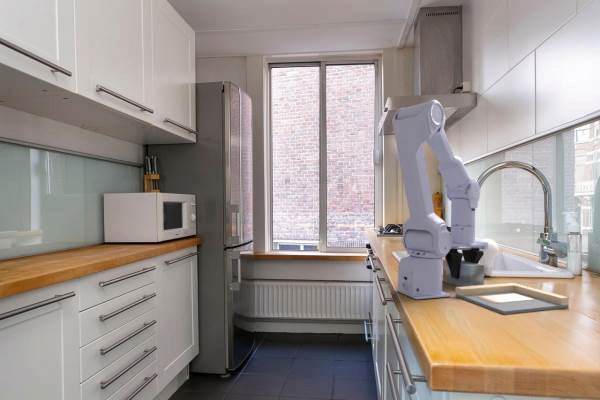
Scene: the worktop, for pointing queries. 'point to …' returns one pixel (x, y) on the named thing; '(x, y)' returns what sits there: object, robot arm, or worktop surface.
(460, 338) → the worktop surface
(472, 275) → the painted block
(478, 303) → the tray
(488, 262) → the lightbulb
